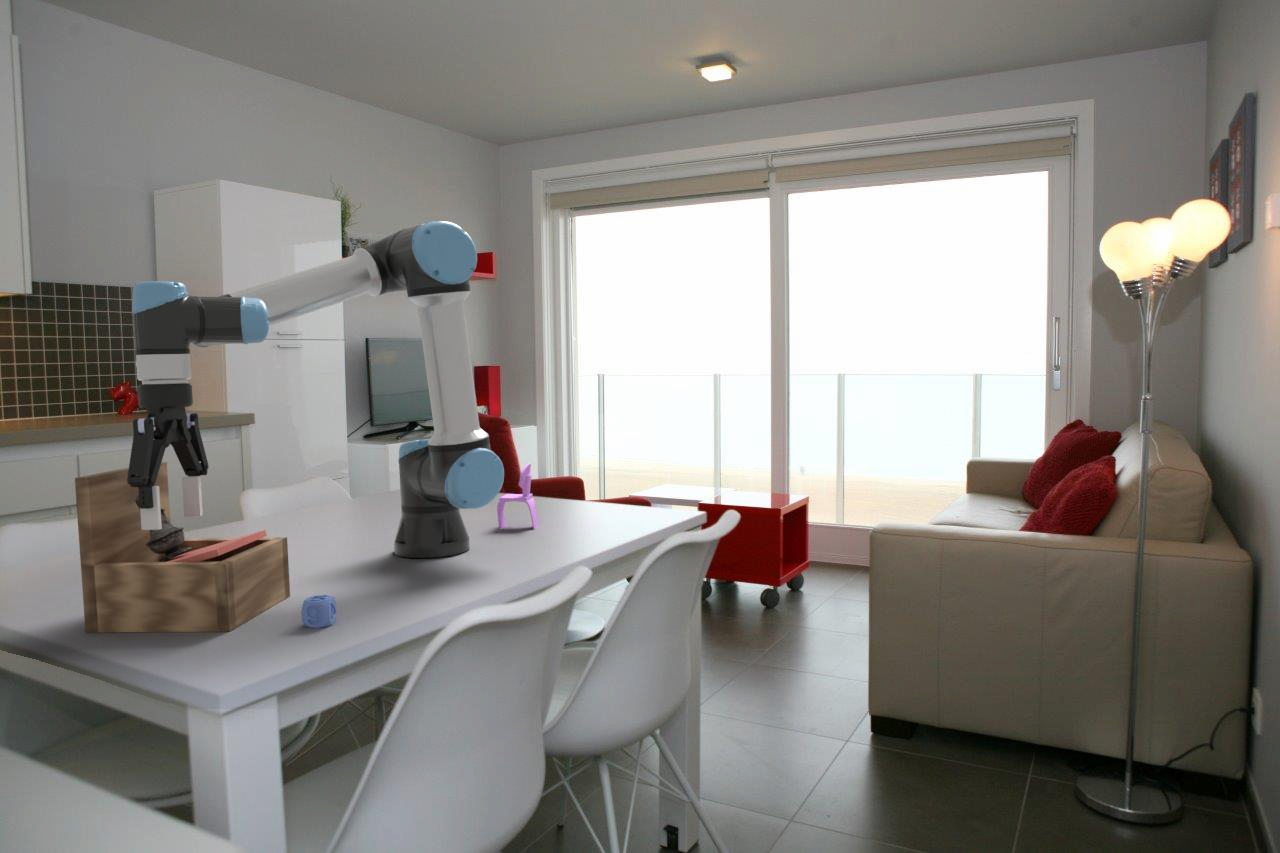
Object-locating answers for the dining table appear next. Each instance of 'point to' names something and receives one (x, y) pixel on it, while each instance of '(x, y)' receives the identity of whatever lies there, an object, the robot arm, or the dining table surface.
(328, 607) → the decorative dice
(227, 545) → the trapdoor
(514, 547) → the dining table surface
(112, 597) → the wooden box
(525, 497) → the toy chair
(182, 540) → the salt shaker
